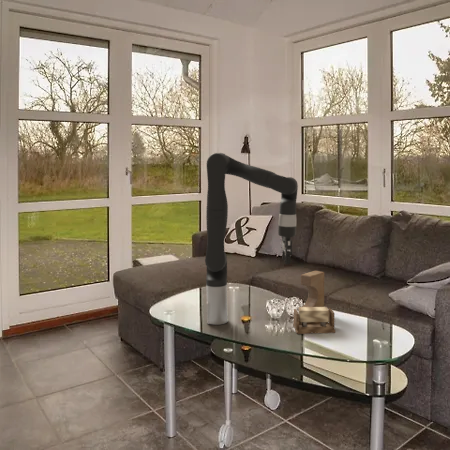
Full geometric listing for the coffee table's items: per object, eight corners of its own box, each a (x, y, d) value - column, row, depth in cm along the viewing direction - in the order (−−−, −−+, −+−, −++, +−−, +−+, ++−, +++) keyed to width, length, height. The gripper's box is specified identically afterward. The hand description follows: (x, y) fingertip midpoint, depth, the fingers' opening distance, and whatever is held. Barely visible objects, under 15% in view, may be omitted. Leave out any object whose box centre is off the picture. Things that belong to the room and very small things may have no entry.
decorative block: (309, 319, 231) (310, 276, 228) (300, 316, 235) (300, 274, 232) (324, 314, 238) (325, 272, 235) (315, 311, 242) (315, 270, 239)
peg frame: (296, 333, 213) (297, 315, 212) (293, 325, 223) (293, 308, 222) (335, 332, 214) (335, 314, 213) (329, 324, 224) (329, 307, 222)
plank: (326, 318, 220) (326, 306, 219) (328, 322, 215) (328, 310, 214) (298, 318, 221) (298, 307, 220) (299, 322, 216) (299, 310, 215)
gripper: (298, 227, 210) (297, 265, 212) (293, 222, 224) (292, 258, 226) (280, 227, 210) (279, 265, 212) (276, 222, 224) (275, 258, 226)
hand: (286, 262), depth 219 cm, fingers open, 8 cm apart
